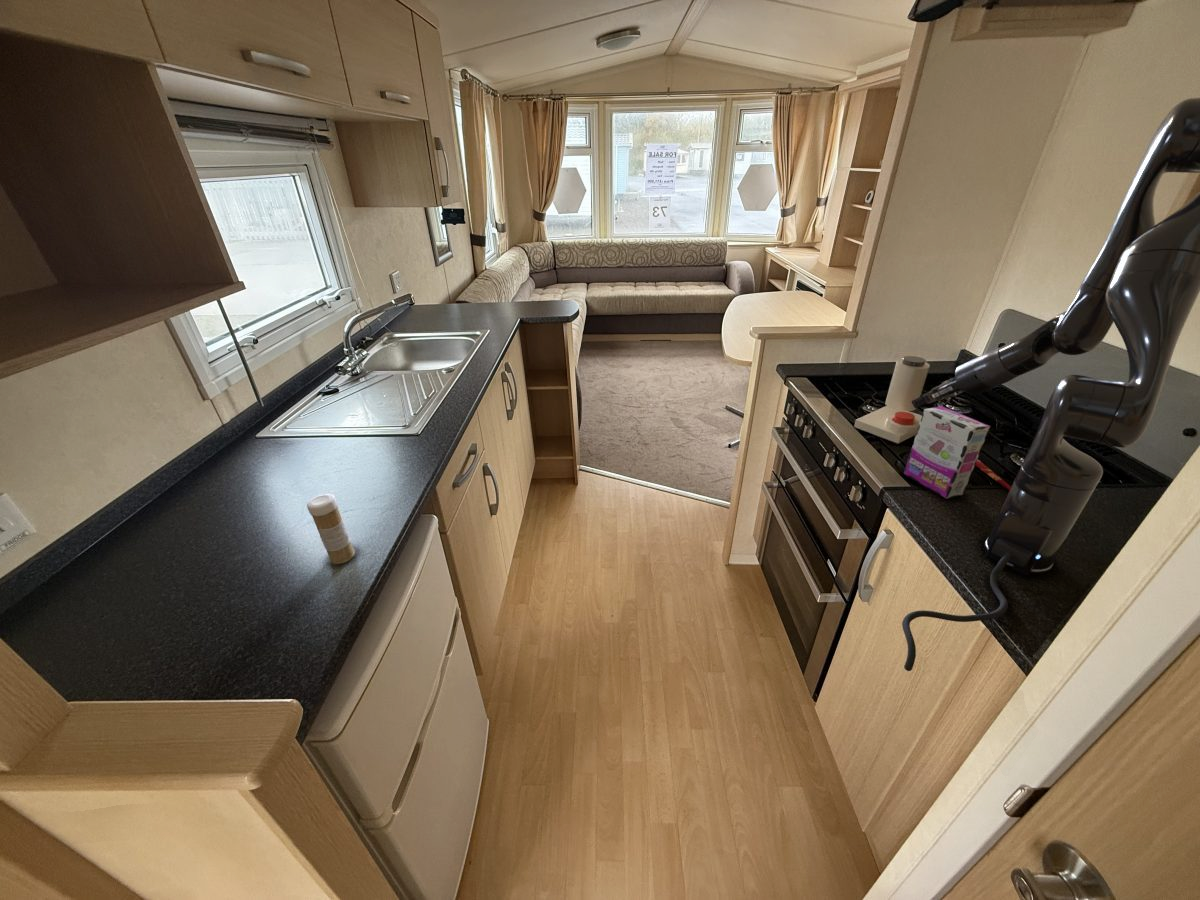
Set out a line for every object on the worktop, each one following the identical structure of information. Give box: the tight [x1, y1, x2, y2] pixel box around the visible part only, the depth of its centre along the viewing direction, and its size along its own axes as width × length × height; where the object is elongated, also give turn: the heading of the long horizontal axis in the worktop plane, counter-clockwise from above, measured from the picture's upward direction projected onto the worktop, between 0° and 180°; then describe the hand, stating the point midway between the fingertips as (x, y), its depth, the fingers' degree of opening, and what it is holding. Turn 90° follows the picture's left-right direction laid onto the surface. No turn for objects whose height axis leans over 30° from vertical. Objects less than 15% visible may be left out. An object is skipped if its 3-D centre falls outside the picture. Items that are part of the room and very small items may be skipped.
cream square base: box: [853, 405, 923, 444], centre depth 128 cm, size 16×13×4 cm
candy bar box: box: [903, 405, 991, 499], centre depth 101 cm, size 11×5×16 cm, turn 17°
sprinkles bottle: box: [306, 493, 356, 565], centre depth 89 cm, size 5×5×14 cm
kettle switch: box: [893, 412, 915, 425], centre depth 123 cm, size 4×4×2 cm
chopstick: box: [974, 458, 1012, 492], centre depth 108 cm, size 2×24×1 cm, turn 179°
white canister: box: [884, 355, 931, 412], centre depth 128 cm, size 8×8×13 cm
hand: (914, 404), depth 120 cm, fingers closed
